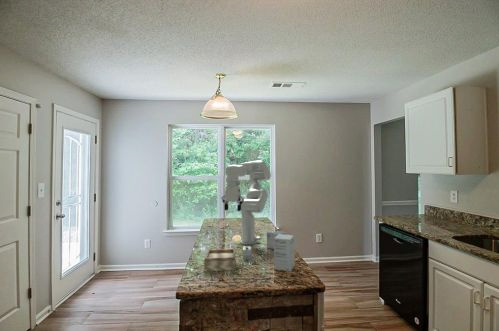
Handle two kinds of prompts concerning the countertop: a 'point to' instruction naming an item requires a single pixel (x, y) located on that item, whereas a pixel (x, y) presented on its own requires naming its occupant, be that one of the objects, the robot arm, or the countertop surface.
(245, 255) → the block
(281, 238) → the supplement box
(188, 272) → the countertop surface
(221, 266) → the tray
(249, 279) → the countertop surface
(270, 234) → the light bulb box
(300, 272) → the countertop surface
